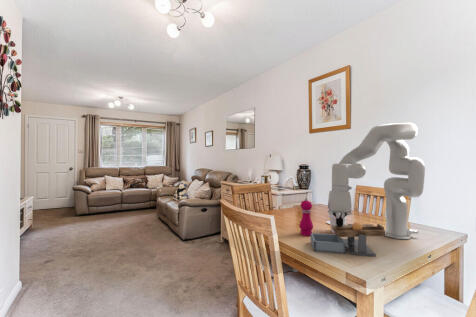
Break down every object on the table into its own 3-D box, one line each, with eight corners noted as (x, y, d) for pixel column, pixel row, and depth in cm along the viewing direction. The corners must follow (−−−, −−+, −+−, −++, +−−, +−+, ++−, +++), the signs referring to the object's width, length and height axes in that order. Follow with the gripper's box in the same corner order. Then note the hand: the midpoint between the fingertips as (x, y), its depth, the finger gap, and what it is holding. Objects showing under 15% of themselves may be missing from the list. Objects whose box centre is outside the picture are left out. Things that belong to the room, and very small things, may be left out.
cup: (343, 229, 133) (343, 209, 133) (348, 234, 124) (349, 212, 124) (327, 229, 134) (327, 209, 134) (331, 234, 125) (331, 212, 125)
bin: (338, 244, 110) (338, 234, 110) (345, 254, 98) (345, 243, 98) (310, 242, 113) (310, 232, 113) (314, 251, 101) (314, 241, 101)
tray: (372, 226, 111) (371, 219, 111) (385, 236, 97) (385, 227, 97) (331, 227, 115) (330, 220, 115) (338, 237, 100) (337, 229, 101)
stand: (361, 241, 114) (361, 224, 114) (375, 256, 96) (375, 236, 96) (339, 240, 116) (339, 223, 116) (350, 254, 98) (350, 234, 98)
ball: (349, 223, 105) (353, 231, 105) (352, 225, 101) (356, 234, 101) (358, 220, 104) (361, 228, 104) (361, 222, 100) (365, 231, 100)
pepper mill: (297, 232, 128) (297, 196, 128) (309, 232, 128) (310, 196, 129) (302, 236, 121) (302, 198, 121) (315, 236, 121) (315, 198, 121)
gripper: (354, 188, 113) (353, 225, 113) (322, 187, 116) (322, 223, 116) (358, 190, 106) (358, 229, 106) (325, 188, 109) (324, 227, 109)
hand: (339, 226), depth 111 cm, fingers closed
